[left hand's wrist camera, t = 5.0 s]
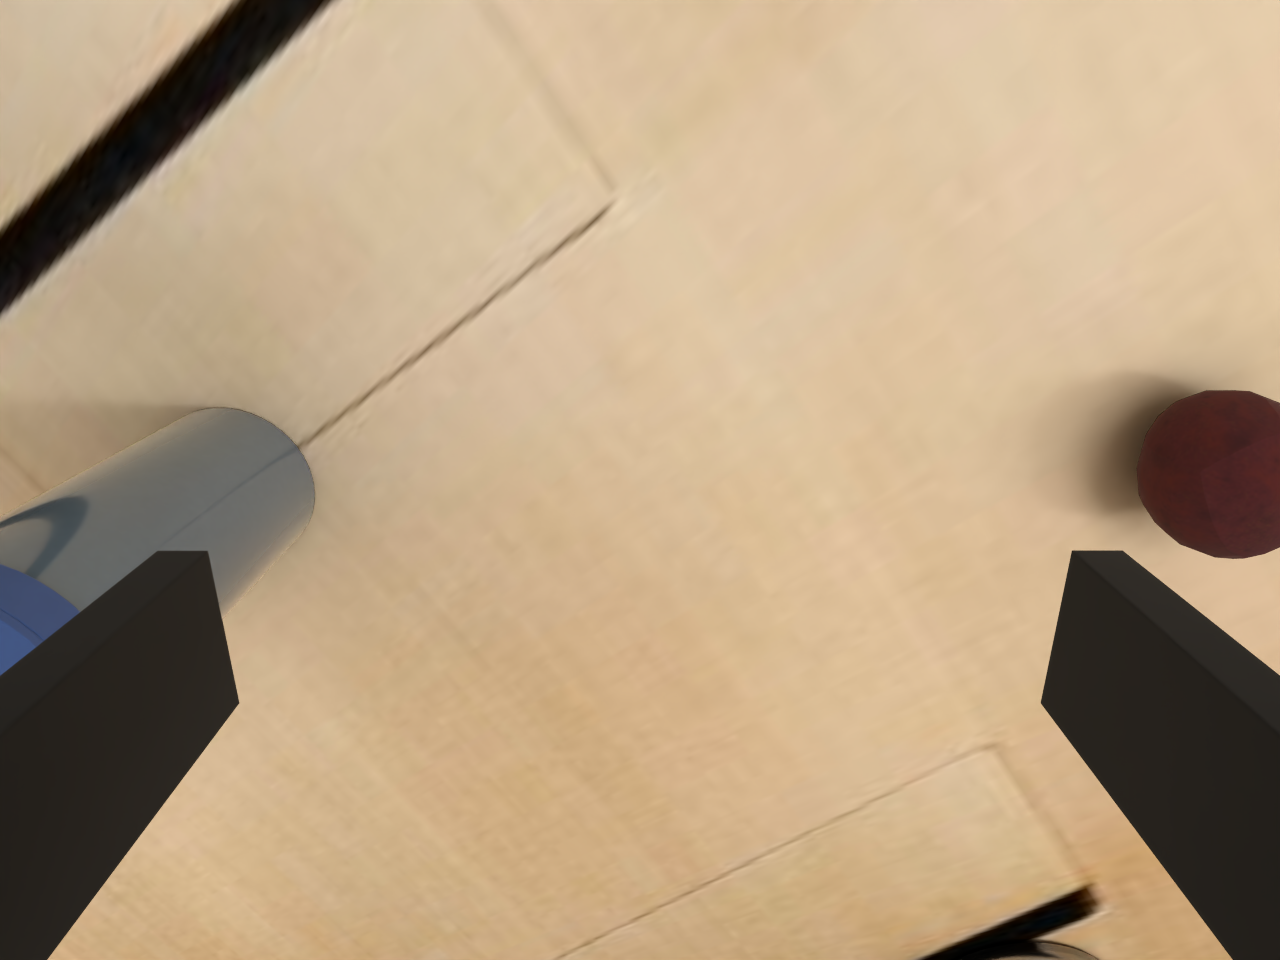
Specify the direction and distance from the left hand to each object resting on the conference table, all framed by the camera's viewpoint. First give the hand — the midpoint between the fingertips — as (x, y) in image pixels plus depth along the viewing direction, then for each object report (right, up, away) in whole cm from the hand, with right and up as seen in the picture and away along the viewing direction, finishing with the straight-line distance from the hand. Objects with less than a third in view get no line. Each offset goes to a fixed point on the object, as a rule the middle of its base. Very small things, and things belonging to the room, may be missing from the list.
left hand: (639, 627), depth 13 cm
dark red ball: (+27, +4, +28) cm, 39 cm away
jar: (-21, +2, +29) cm, 36 cm away
